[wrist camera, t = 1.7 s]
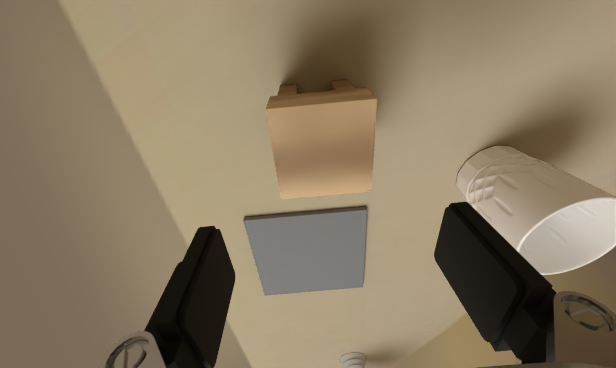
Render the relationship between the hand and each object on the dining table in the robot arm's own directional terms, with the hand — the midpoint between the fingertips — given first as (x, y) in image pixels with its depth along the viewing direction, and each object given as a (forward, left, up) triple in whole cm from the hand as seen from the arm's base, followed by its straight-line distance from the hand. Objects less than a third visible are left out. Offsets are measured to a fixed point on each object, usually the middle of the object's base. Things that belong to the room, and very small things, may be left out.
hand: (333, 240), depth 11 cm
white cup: (+7, +18, -15) cm, 25 cm away
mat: (+17, -2, -15) cm, 23 cm away
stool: (-1, 0, -15) cm, 15 cm away
